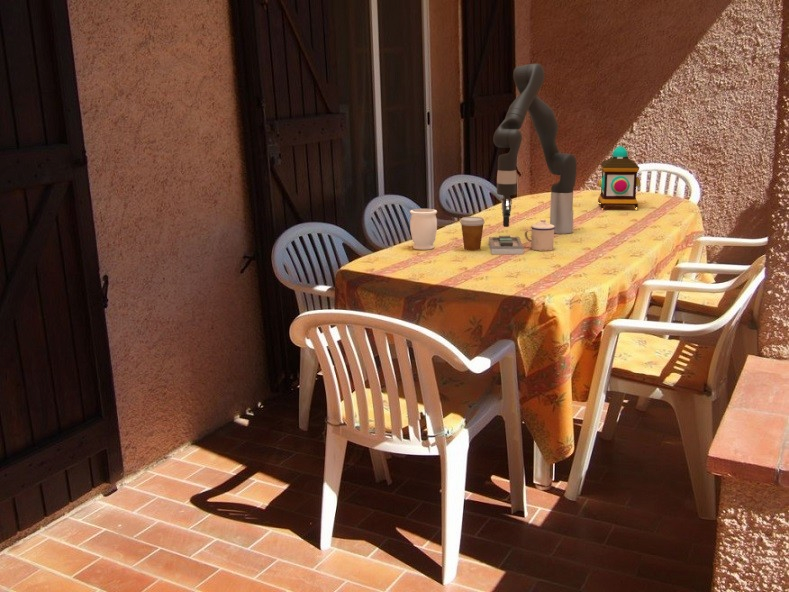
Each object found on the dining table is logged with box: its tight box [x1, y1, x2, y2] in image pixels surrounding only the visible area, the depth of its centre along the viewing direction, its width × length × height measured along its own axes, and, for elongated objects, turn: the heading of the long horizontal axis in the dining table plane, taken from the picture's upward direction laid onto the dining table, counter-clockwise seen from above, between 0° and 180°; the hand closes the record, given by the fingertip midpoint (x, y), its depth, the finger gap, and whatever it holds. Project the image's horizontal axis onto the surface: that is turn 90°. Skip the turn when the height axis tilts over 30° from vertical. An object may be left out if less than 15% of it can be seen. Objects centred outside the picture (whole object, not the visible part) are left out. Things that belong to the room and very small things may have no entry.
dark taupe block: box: [501, 241, 513, 246], centre depth 338 cm, size 4×3×2 cm
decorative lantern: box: [597, 146, 641, 209], centre depth 428 cm, size 20×20×30 cm
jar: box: [409, 208, 438, 251], centre depth 346 cm, size 11×10×15 cm
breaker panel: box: [488, 236, 524, 255], centre depth 343 cm, size 12×18×3 cm, turn 177°
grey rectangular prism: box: [498, 235, 512, 241], centre depth 347 cm, size 4×3×2 cm
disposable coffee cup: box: [459, 216, 485, 251], centre depth 343 cm, size 10×10×12 cm
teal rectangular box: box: [500, 238, 512, 244], centre depth 342 cm, size 4×3×2 cm
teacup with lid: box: [524, 218, 555, 252], centre depth 342 cm, size 12×9×12 cm
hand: (506, 226), depth 341 cm, fingers closed
